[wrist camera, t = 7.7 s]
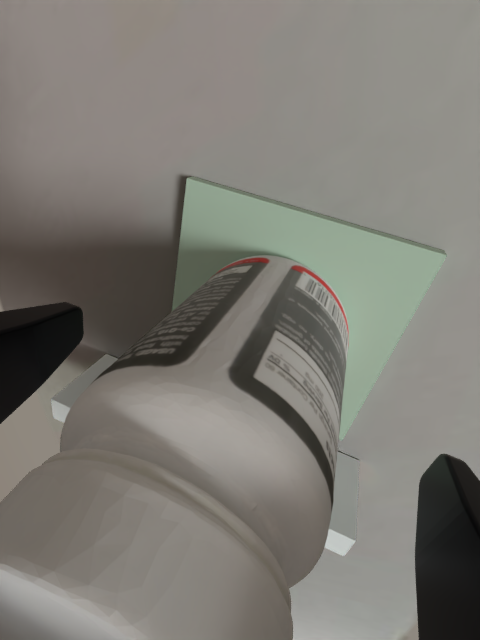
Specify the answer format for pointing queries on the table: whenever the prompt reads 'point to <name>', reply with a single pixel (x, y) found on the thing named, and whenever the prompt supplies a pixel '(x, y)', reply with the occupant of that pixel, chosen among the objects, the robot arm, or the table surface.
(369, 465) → the table surface
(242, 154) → the table surface
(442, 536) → the robot arm
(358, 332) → the coaster
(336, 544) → the acrylic wall
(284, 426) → the pill bottle
